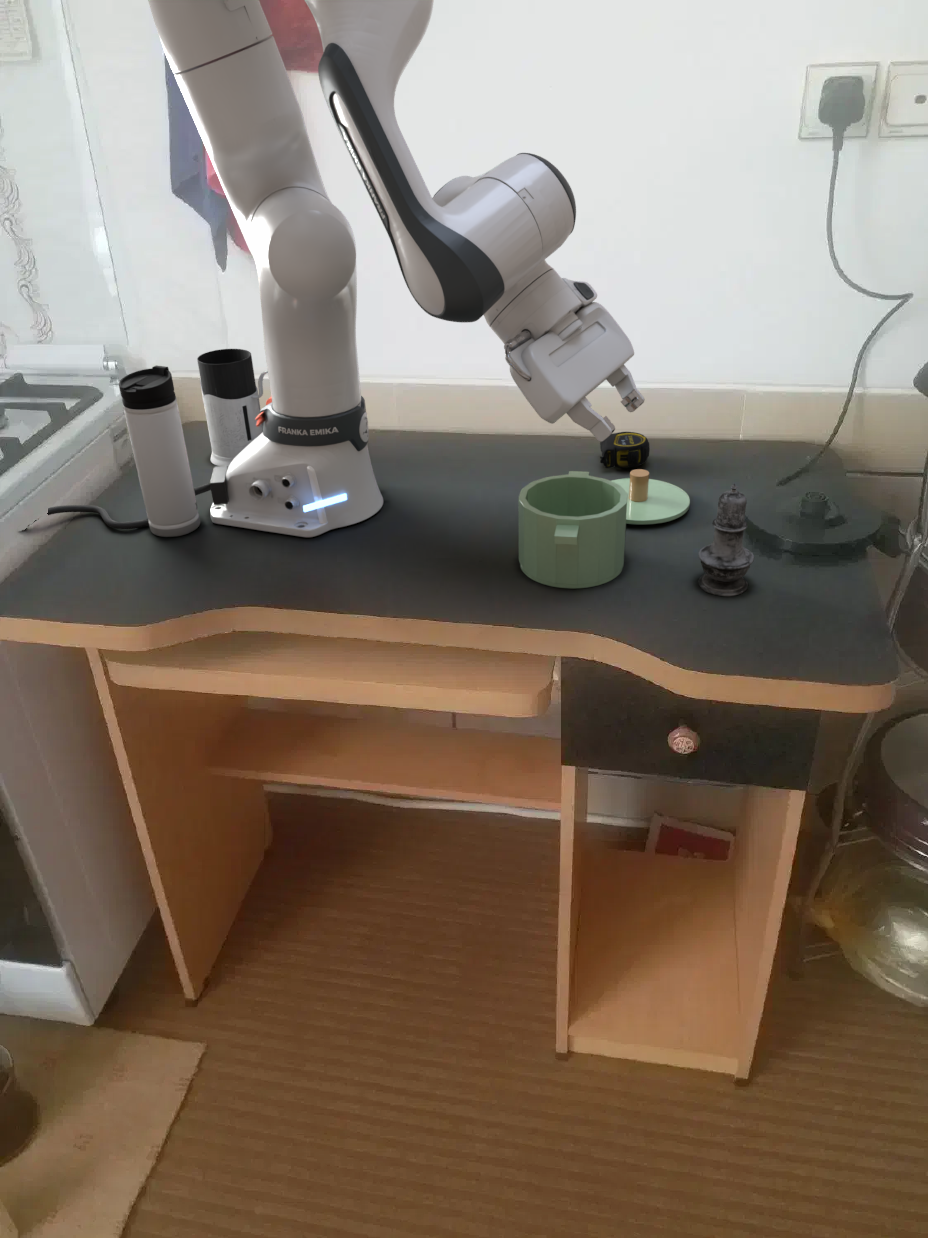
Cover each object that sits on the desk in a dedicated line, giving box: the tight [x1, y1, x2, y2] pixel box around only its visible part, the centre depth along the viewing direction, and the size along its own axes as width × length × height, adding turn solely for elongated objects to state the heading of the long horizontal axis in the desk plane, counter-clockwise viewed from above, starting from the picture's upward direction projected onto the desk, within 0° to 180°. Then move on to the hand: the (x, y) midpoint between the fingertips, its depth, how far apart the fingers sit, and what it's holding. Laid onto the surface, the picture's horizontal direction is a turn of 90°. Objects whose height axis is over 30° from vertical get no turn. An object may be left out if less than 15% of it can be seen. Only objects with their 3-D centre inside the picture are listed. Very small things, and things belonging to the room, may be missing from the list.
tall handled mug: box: [196, 348, 268, 467], centre depth 142 cm, size 9×14×15 cm, turn 65°
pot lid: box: [611, 468, 691, 526], centre depth 126 cm, size 13×13×5 cm
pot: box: [517, 470, 628, 589], centre depth 112 cm, size 12×17×8 cm
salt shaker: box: [697, 483, 755, 597], centre depth 106 cm, size 6×6×12 cm
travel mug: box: [118, 365, 201, 538], centre depth 121 cm, size 6×7×20 cm
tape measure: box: [599, 431, 650, 469], centre depth 138 cm, size 7×7×4 cm
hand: (624, 421), depth 105 cm, fingers open, 8 cm apart
